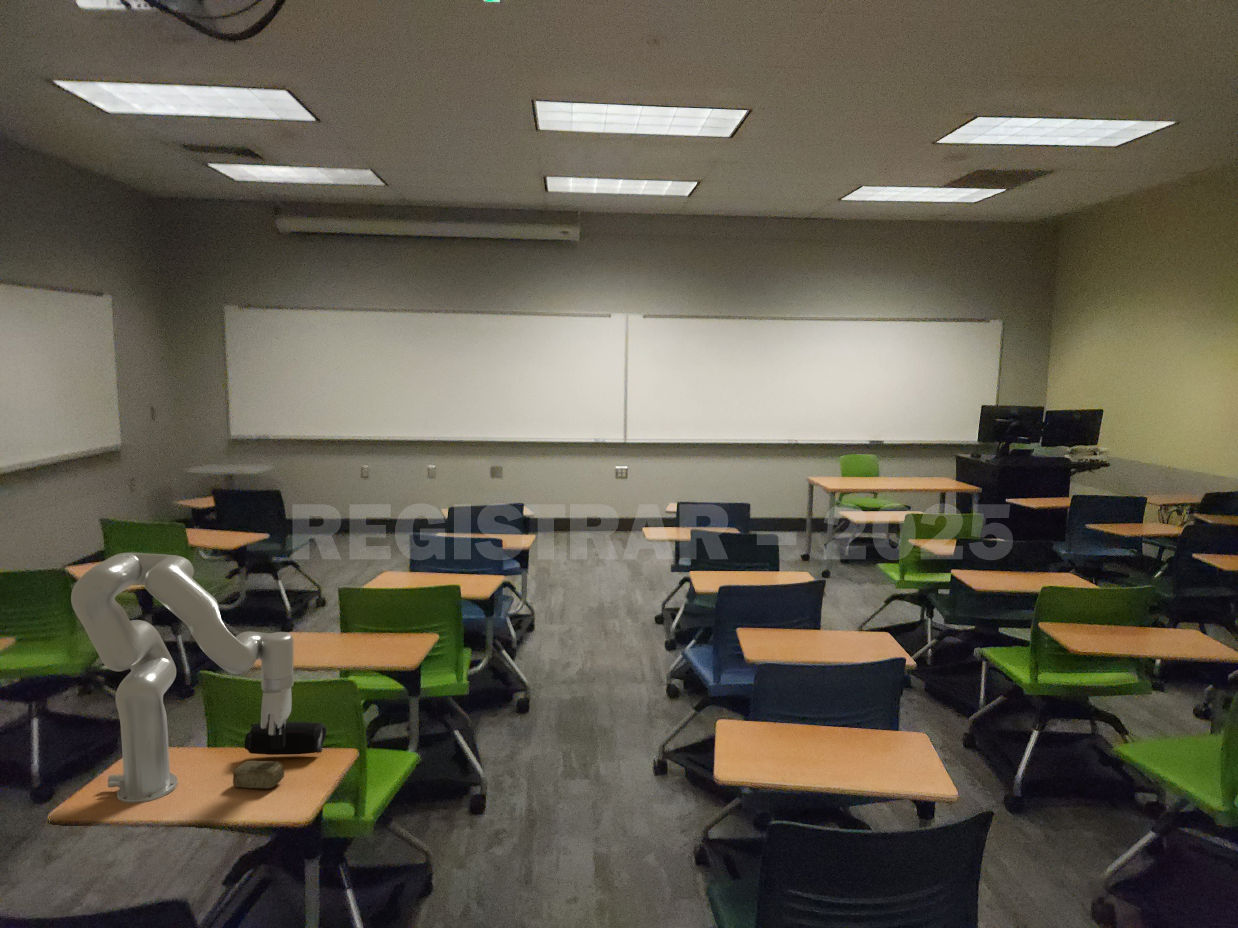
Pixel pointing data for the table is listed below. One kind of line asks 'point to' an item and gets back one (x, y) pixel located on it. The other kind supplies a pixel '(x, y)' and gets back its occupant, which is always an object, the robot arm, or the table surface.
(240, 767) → the stone block
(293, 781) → the table surface
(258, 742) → the portable speaker
